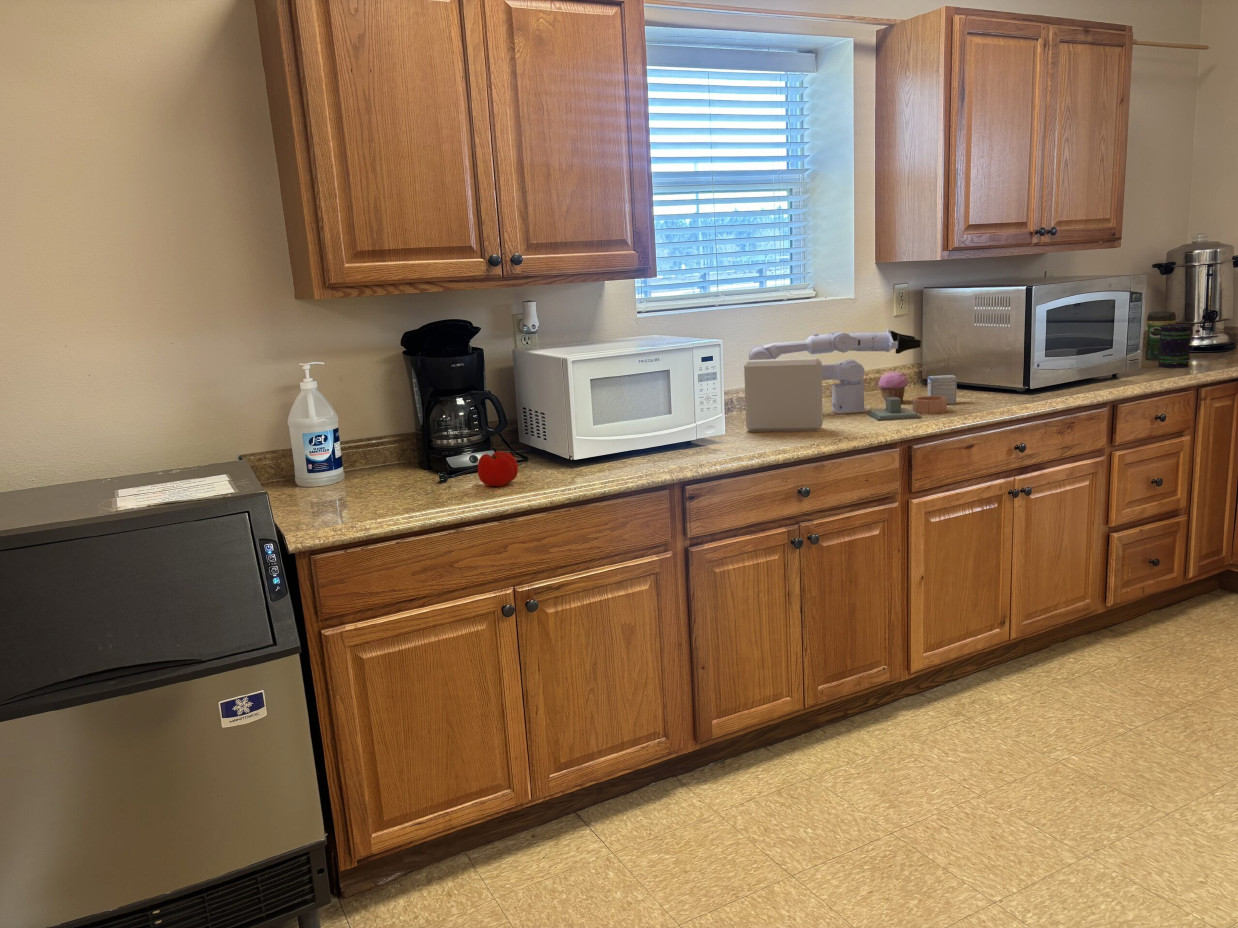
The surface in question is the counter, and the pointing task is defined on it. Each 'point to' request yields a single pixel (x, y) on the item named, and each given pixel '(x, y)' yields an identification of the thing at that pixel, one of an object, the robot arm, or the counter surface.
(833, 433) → the counter surface
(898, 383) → the cupcake
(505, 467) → the tomato
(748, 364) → the taupe bevelled box
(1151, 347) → the coffee jar
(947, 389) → the medicine box
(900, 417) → the mat
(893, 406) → the lid
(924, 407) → the bowl
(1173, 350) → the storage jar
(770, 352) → the robot arm
